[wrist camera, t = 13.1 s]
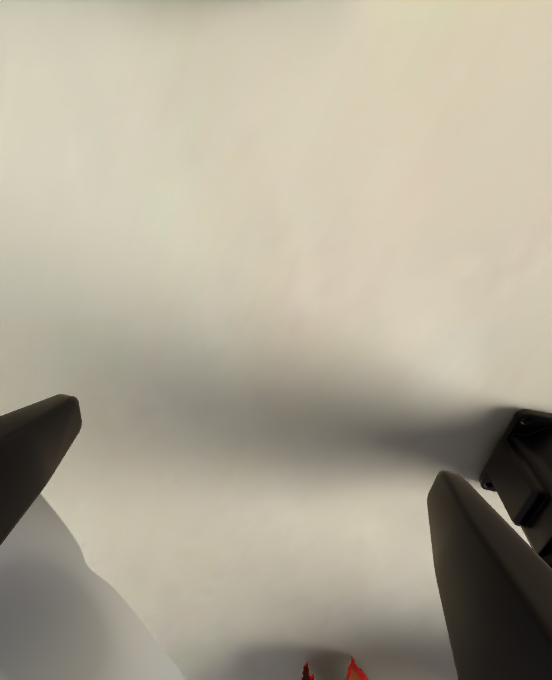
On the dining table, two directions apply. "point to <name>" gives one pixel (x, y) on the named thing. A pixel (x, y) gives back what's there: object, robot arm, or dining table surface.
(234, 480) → the dining table surface
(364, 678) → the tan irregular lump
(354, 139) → the dining table surface
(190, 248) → the dining table surface
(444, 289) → the dining table surface
